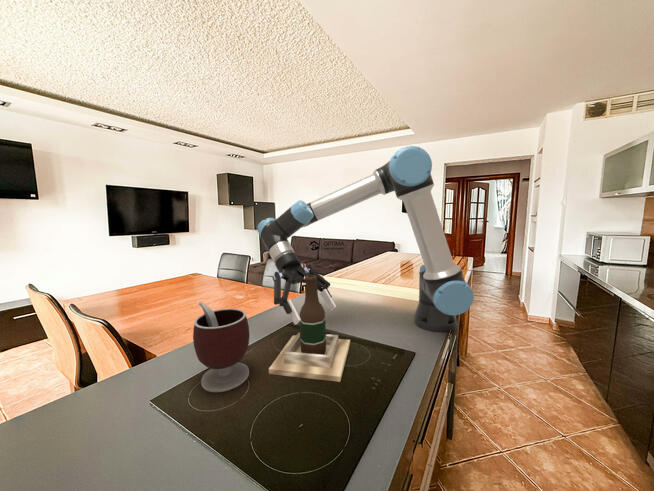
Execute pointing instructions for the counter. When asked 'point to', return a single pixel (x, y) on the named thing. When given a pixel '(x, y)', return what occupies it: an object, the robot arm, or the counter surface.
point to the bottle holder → (312, 360)
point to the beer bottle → (312, 320)
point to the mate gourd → (221, 347)
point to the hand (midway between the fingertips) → (316, 315)
